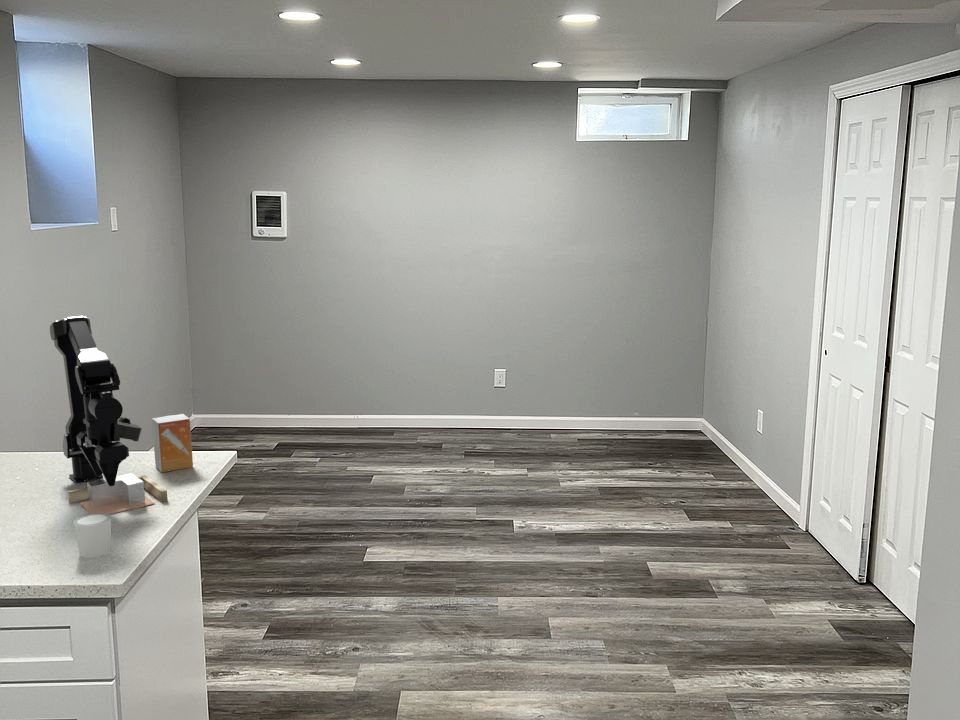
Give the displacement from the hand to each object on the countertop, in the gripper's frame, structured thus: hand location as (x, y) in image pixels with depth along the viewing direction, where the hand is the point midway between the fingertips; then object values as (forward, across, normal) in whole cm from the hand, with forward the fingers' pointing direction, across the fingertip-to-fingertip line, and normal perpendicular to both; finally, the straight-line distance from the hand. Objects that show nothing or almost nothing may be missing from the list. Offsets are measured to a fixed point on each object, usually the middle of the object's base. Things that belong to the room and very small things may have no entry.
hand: (105, 480), depth 205 cm
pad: (+5, -2, -2) cm, 6 cm away
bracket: (+5, -2, -2) cm, 6 cm away
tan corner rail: (+5, 0, -2) cm, 6 cm away
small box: (+6, +17, -22) cm, 28 cm away
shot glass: (+6, -27, +10) cm, 30 cm away
